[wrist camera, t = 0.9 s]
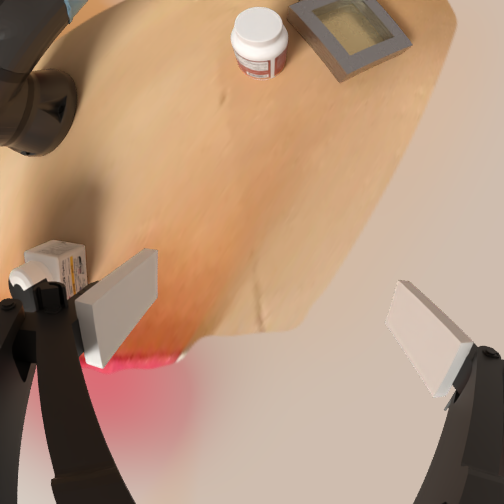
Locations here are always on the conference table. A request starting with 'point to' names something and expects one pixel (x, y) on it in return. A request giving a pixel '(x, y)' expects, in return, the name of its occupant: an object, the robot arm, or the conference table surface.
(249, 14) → the pill bottle
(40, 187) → the conference table surface
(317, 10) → the grey square pan
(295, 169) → the conference table surface
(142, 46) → the conference table surface
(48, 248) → the container
